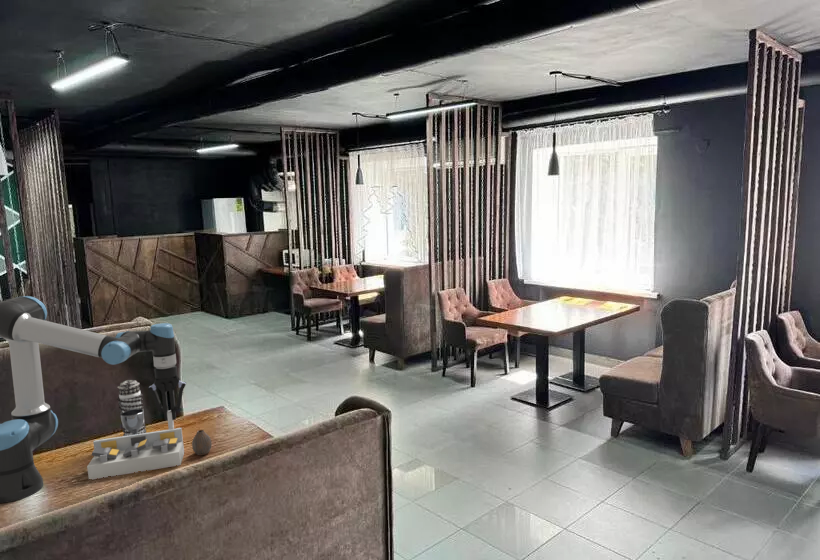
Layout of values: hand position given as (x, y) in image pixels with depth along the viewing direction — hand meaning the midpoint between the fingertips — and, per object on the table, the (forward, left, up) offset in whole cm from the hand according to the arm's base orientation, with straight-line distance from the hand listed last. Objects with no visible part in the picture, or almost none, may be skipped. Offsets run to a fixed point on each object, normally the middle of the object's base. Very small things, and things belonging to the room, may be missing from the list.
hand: (171, 428), depth 206 cm
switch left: (-22, 0, -6) cm, 23 cm away
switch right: (-2, 0, -6) cm, 6 cm away
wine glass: (-16, +18, -13) cm, 27 cm away
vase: (+10, +3, -13) cm, 16 cm away
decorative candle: (-18, +27, -13) cm, 35 cm away
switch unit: (-12, 0, -13) cm, 18 cm away
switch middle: (-12, 0, -6) cm, 14 cm away
